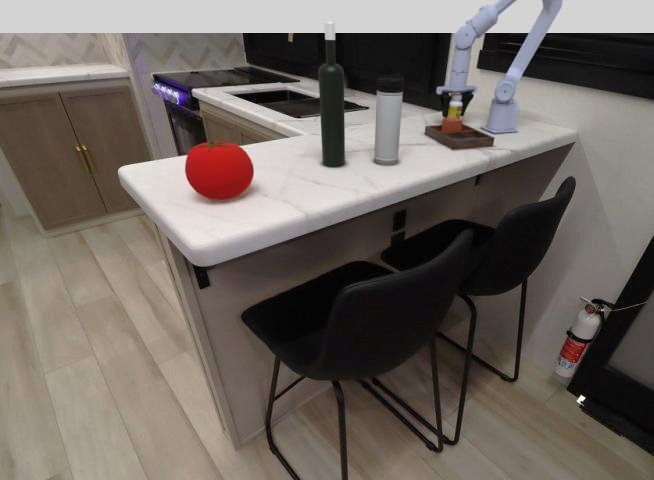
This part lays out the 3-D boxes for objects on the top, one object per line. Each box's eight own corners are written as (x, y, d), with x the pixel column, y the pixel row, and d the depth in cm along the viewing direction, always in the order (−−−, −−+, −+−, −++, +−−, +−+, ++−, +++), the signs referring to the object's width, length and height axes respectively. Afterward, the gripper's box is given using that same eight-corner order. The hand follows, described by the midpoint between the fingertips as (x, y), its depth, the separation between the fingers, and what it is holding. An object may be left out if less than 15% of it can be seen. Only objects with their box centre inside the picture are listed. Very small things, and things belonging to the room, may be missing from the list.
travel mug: (403, 161, 101) (410, 75, 89) (387, 167, 97) (392, 77, 85) (385, 155, 104) (390, 72, 92) (369, 161, 100) (372, 74, 88)
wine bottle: (349, 164, 98) (348, 20, 80) (332, 169, 95) (327, 20, 76) (335, 158, 101) (331, 19, 83) (318, 163, 98) (310, 19, 80)
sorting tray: (461, 131, 128) (462, 123, 126) (492, 146, 115) (494, 137, 113) (424, 134, 124) (425, 125, 122) (453, 150, 110) (454, 141, 109)
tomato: (180, 198, 78) (164, 143, 71) (229, 180, 87) (219, 129, 80) (220, 213, 73) (207, 155, 67) (267, 191, 82) (260, 138, 76)
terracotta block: (452, 131, 124) (455, 117, 121) (460, 135, 121) (462, 120, 118) (441, 132, 123) (443, 117, 120) (448, 136, 120) (450, 121, 117)
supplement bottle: (455, 128, 131) (460, 96, 125) (441, 125, 133) (445, 94, 127) (461, 125, 135) (466, 94, 129) (447, 122, 137) (451, 92, 131)
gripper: (471, 69, 129) (464, 112, 137) (434, 70, 125) (429, 115, 133) (483, 72, 124) (475, 117, 132) (445, 73, 119) (438, 119, 128)
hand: (452, 116), depth 132 cm, fingers open, 6 cm apart
